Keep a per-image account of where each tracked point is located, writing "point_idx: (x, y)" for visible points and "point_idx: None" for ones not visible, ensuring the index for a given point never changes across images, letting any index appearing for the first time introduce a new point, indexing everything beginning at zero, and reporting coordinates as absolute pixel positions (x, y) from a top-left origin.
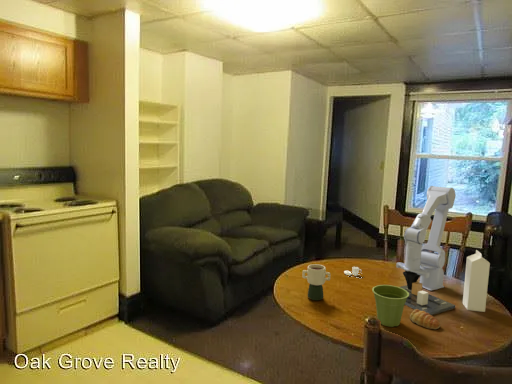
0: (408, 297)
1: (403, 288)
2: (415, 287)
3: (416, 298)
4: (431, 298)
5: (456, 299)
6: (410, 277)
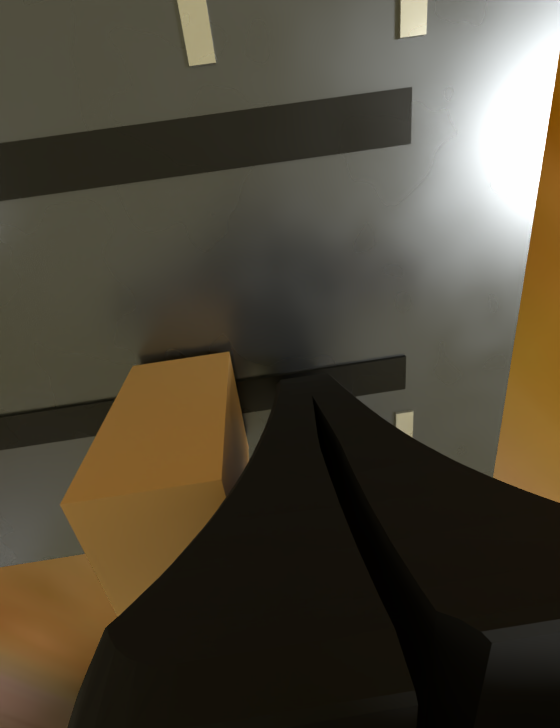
0: (96, 178)
1: (439, 377)
2: (133, 437)
3: (48, 298)
4: (34, 491)
5: (76, 666)
6: (231, 574)
